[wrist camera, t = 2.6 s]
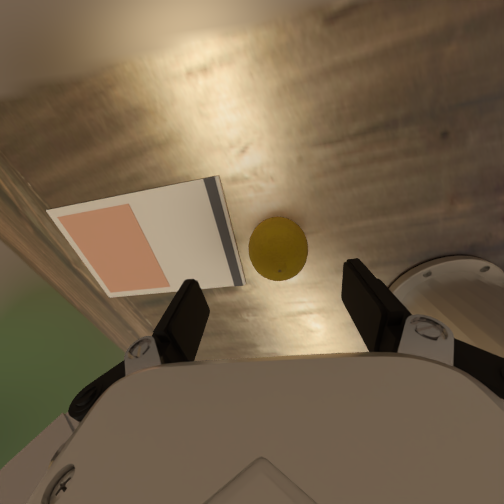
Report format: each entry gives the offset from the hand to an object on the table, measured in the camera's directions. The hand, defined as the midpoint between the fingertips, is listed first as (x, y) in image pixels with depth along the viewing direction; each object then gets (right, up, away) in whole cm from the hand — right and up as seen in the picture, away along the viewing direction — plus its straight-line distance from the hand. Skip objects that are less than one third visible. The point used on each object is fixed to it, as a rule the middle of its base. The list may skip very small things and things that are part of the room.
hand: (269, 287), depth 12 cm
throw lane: (-14, +3, +12) cm, 18 cm away
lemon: (+2, +5, +9) cm, 11 cm away
